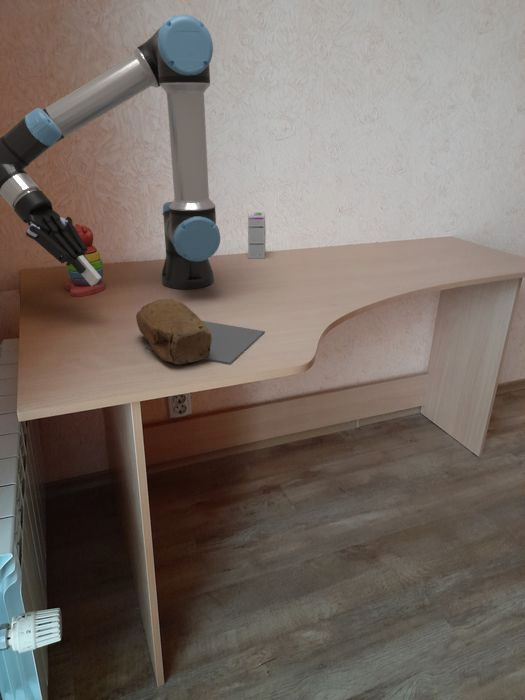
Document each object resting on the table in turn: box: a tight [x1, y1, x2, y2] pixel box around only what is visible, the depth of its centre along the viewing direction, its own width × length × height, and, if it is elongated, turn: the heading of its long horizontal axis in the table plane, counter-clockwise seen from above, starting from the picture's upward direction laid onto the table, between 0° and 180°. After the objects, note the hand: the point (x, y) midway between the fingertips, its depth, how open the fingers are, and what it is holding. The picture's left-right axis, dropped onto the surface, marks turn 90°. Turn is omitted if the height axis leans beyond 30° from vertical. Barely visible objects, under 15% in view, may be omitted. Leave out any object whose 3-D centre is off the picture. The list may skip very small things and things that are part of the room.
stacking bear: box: [64, 223, 105, 297], centre depth 144 cm, size 11×10×18 cm
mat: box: [144, 320, 266, 365], centre depth 116 cm, size 18×20×1 cm
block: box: [135, 298, 212, 365], centre depth 110 cm, size 11×8×20 cm
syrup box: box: [247, 212, 266, 260], centre depth 180 cm, size 6×6×14 cm
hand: (96, 281), depth 120 cm, fingers closed
